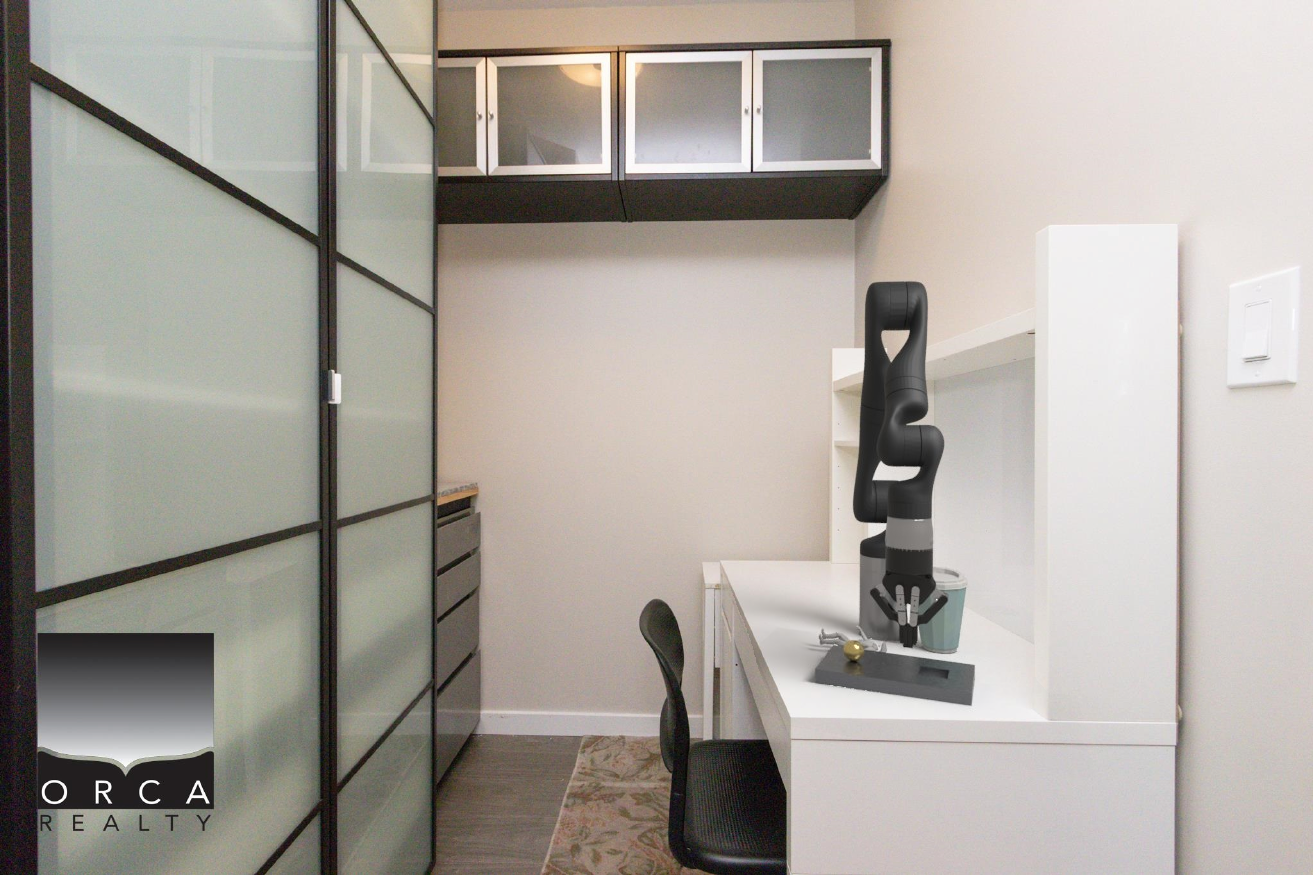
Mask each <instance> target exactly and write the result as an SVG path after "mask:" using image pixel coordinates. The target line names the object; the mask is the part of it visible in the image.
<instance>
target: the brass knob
mask: <svg viewBox="0 0 1313 875" xmlns="http://www.w3.org/2000/svg"><path fill="white" fill-rule="evenodd" d="M849 640H850V641H848V642H847V643H846V644H845V645H844V648H843V652H844V655H845V657H846V658H847V659H849V660H851V661H858V660H860V659H861V658H862V657H863V655H864V648H863V646H862V644H861V643H860V642H858V641H855V640H856V639H849Z"/></svg>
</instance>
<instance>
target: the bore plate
mask: <svg viewBox="0 0 1313 875" xmlns="http://www.w3.org/2000/svg"><path fill="white" fill-rule="evenodd" d="M843 648H844V647H842V646H838V645H835V644H834V645H832V646H831V647H830V649H828V652H827V653H826V654H825V655H824V657H823V658H822V659H821V661H820V662H819V663H818V665H817V666H816V667H815V670H814V673H815V674H814V682H815V684H816V685H817V684H818V685H825V686H830V685H833V686H832V687H837V686H842V687H841V688H844V687H846V688H845V689H851V688H854V689H853V690H860V691H865V690H867V691H866V692H873V693H879V692H880V693H881V694H886V695H887V694H888V695H894V696H902V697H909V698H914V699H919V700H920V699H923V700H927V701H928V700H929V701H934V702H941V703H948V704H949V703H950V704H956V705H964V706H971V707H972V706H973V697H974V689H975V680H976V679H975V678H976V664H971V663H964V662H957V661H949V660H943V659H935V658H926V657H922V656H921V657H920V656H913V655H907V654H905V655H904V654H898V653H892V652H891V653H890V652H886V653H885V652H879V650H877V651H871V650H864V655H863V657H862V658H861V659H860V660H858V661H851V660H849V659H847V658H846V657H845V655H844V652H843Z"/></svg>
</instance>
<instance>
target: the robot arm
mask: <svg viewBox="0 0 1313 875" xmlns="http://www.w3.org/2000/svg"><path fill="white" fill-rule="evenodd" d="M928 300H929V299H928V292H927V289H926V287H925V285H924V284H923V283H922V282H919V281H916V280H915V281H912V280H911V281H910V280H908V281H875V282H871V283H870V285H869V286H868V288H867V291H866V294H865V301H864V302H865V303H864V361H863V362H864V365H863V376H862V385H861V386H862V387H861V396H860V409H859V411H860V412H859V433H858V434H859V436H858V437H859V438H858V440H859V441H858V454H857V455H858V456H857V464H856V472H855V480H854V487H853V497H852V512H853V515H854V518H855V519H856V521H858V522H859V523H865V524H886V526H885V529H884V530H883V531H882V532H880V533H878V534H875V535H874V536H870V537H867V538H864V539H862V540H861V541H860V544H859V609H858V610H859V614H858V615H859V616H858V617H859V618H858V619H859V624H858V626H859V627H860V628H861V629H862V631H863V632H864V634H865V636H866V637H867V638H868V639H870V638H872V640H876V641H884V640H885V641H899V643H900V644H902V646H903V648H908V649H909V648H910V649H913V647H914V646H917V643H918V639H919V637H918V636H919V627H918V625H920V624H927V623H928V622H929V621H930V620H931V619H932V618H933V617H934V616H935V615H936V614H937V613H938V611H939V610H940V609H941V608H942V607H943V606H944V605H945V604H946V603H947V602H948V598H949V596H948V594H947V593H943V592H941V591H940V590H939V589H938V588H937V587H936V582H935V580H934V578H933V567H934V527H933V526H934V525H933V519H932V518H933V516H932V514H933V491H934V485H935V479H936V477H937V472H938V470H939V466H940V464H941V461H942V457H943V455H944V454H943V453H944V450H945V438H944V435H943V433H942V431H941V430H940V429H939V428H938V427H937V426H935V425H932V424H912V423H917V422H919V421H921V420H923V419H924V418H925V417H926V416H927V414H928V411H929V399H928V387H927V380H926V379H927V378H926V375H927V374H926V360H927V345H928V344H927V342H928V323H929V322H928V321H929V319H928V318H929V315H928V314H929V302H928ZM883 331H884V332H885V331H886V332H887V331H889V332H890V331H893V332H894V331H898V332H899V331H909V332H908V337H907V339H906V341H905V343H904V344H903V346H902V347H901V349H900V350H899V351H898V353H897V354H896V355H895V356H894V357H893V359H892V361H891V359H890V357H889V355H888V353H887V351H886V349H885V347H884V343H883V339H882V335H883V334H882V333H883ZM880 463H882V464H884V466H887V467H896V468H899V467H900V468H901V467H902V468H903V467H904V468H905V467H906V468H919V470H918V472H917V474H916V475H914V476H913V477H911V478H909V479H908V478H907V479H903V480H895V479H890V480H889V479H887V480H886V479H885V480H884V479H874V477H875V474H876V471H877V468H878V466H879V464H880ZM931 593H933V595H934V596H933V598H932V601H933V602H934V603H933V604H932V605H931V606H930V607H929V608H928V609H927V610H926V611H925V612H924V613H923V614H922V615H919V607H920V605H921V604H923V603H924V602H925V601H926V599H927V598H928V597H929V596H930V595H931ZM908 605H910V608H909V617H908ZM908 619H909V620H908ZM908 621H909V622H908ZM858 632H859V634H860V633H861V632H860V631H859V630H858Z"/></svg>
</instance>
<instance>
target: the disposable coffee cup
mask: <svg viewBox="0 0 1313 875" xmlns="http://www.w3.org/2000/svg"><path fill="white" fill-rule="evenodd" d="M933 578H934V580H935V582H936V587H937V588H938V589H939V590H940V591H941V592H943V593H947V594H948V596H949V598H948V602H947V603H946V604H945V605H944V606H943V607H942V608H941V609H940V610H939V611H938V613H937V614H936V615H935V616H934V617H933V618H932V619H931V620H930V621H929V622H928V623H927V624H920V625H918V634H919V637H920V643H921V645H922V648H923V649H925V651H928V652H932V653H937V654H952V653H955V652H957V650H958V648H959V643H960V636H961V629H962V624H963V622H962V621H963V616H964V615H963V614H964V607H965V599H966V592H967V588H968V587H969V586H968V585H969V584H968V578H966V577H965V573H962V572H960V571H958V570H957V569H952V568H948V567H939V566H937V567H936V566H933ZM933 596H934V595H933V593H931V595H930V596H929V597H928V598H927V599H926V601H925V602H924V603H923V604H921V605H920V607H919V615H922V614H923V613H924V612H925V611H926V610H927V609H928V608H929V607H930V606H931V605H932V604H933V603H934V602H933V601H932V598H933Z"/></svg>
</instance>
